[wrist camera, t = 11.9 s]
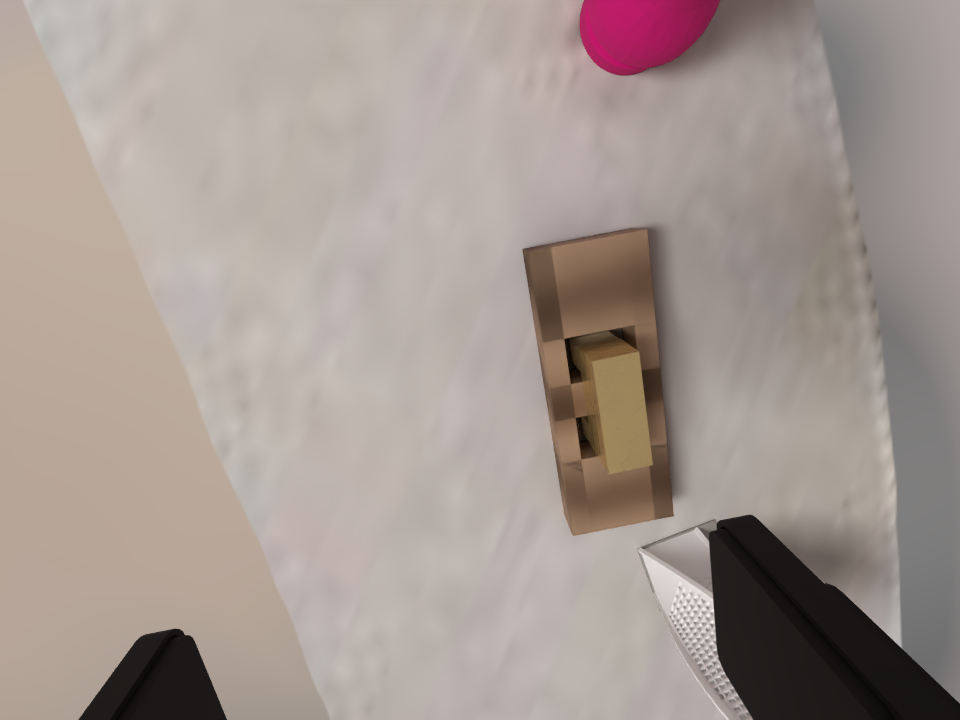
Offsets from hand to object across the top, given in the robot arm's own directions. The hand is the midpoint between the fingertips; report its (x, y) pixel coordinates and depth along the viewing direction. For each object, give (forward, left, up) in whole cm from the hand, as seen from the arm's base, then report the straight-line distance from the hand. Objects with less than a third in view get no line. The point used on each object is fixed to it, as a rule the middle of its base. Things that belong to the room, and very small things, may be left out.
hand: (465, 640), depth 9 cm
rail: (+7, +10, -30) cm, 33 cm away
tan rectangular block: (+7, +10, -30) cm, 32 cm away
